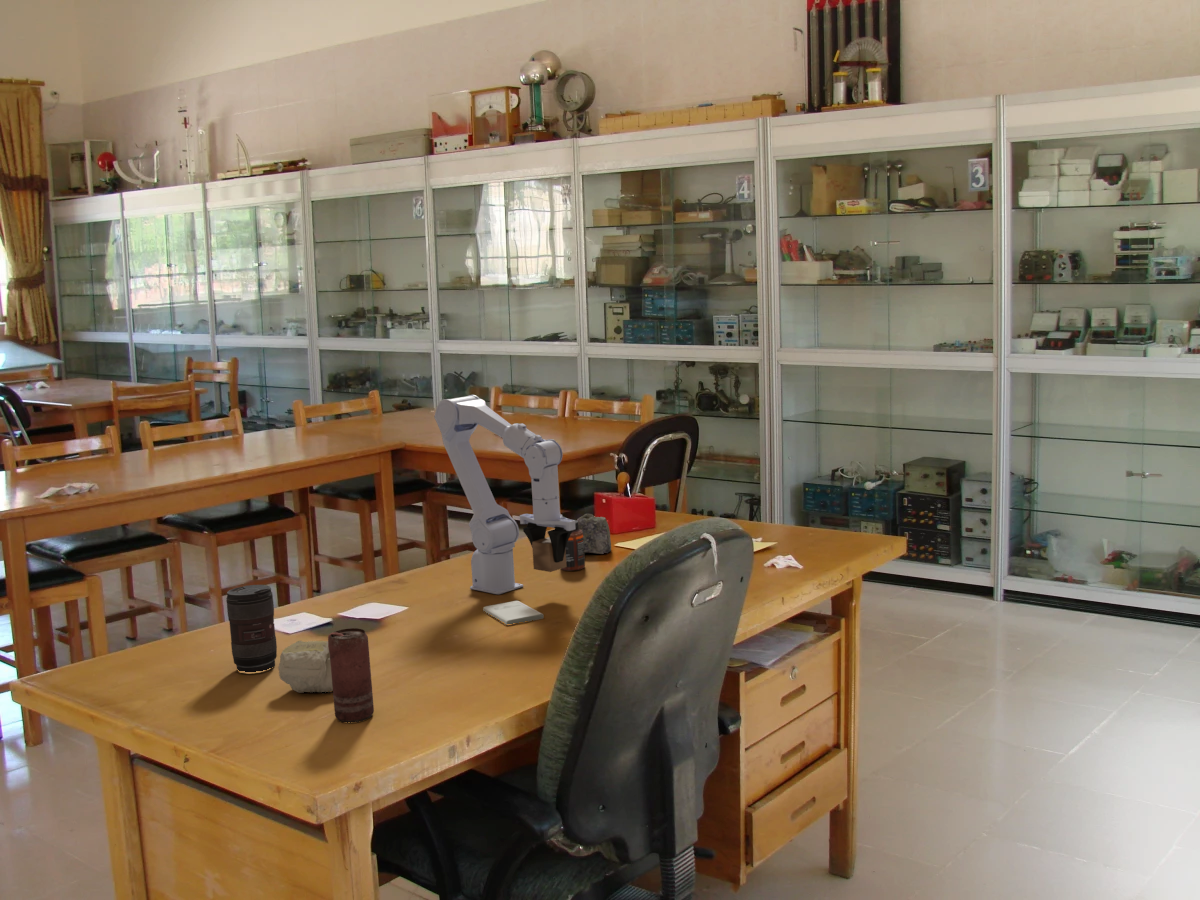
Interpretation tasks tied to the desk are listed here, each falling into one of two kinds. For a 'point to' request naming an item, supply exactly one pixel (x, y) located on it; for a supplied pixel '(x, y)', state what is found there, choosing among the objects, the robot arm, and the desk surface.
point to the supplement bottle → (575, 550)
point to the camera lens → (252, 627)
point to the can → (351, 675)
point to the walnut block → (546, 556)
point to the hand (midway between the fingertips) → (549, 559)
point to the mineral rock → (595, 534)
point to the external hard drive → (513, 612)
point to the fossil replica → (306, 666)
